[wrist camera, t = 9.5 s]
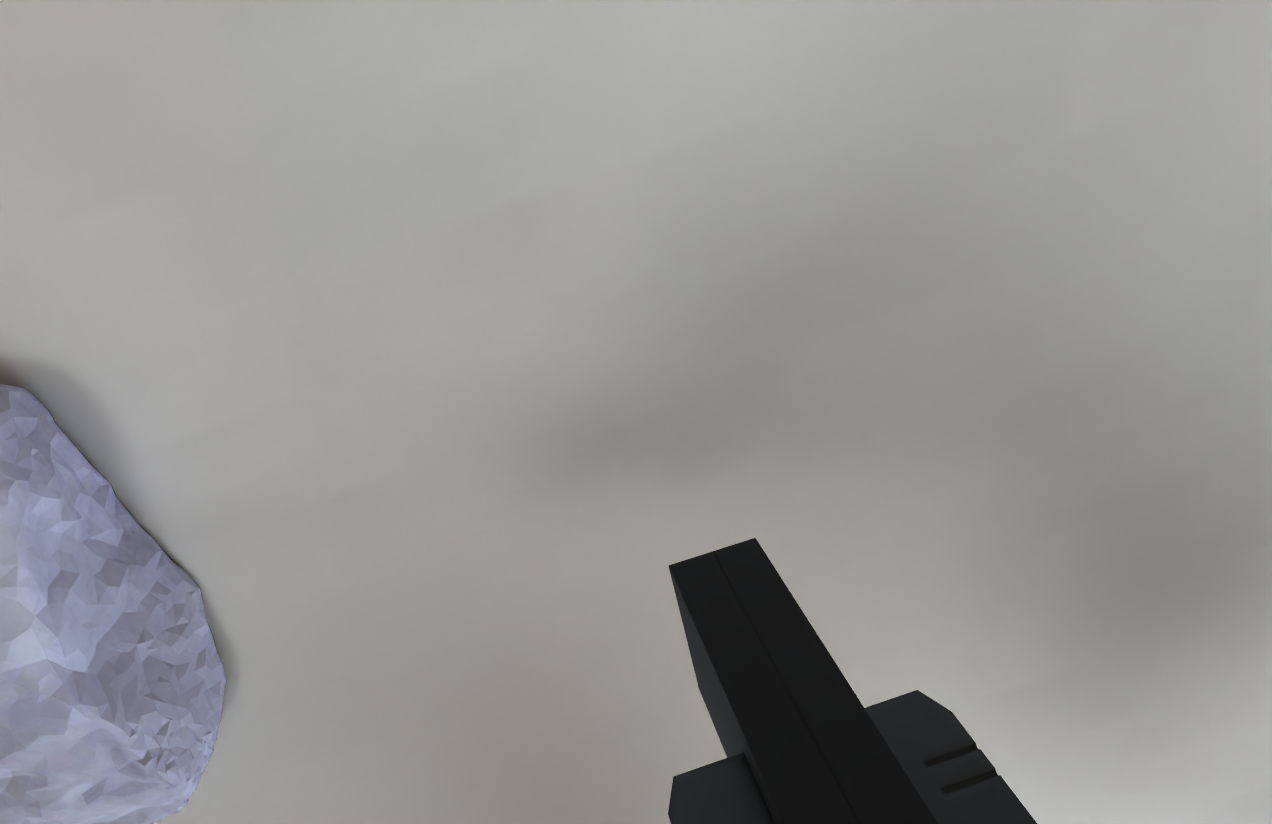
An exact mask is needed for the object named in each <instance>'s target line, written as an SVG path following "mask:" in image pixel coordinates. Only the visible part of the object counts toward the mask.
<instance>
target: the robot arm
mask: <svg viewBox="0 0 1272 824" xmlns="http://www.w3.org/2000/svg"><path fill="white" fill-rule="evenodd" d="M669 569H670V573H671V577H672V581H673V585H674V589H675V593H676V597H677V601H678V605H679V610H680V614H681V618H682V622H683V626H684V630H685V634H686V638H687V642H688V646H689V650H690V654H691V658H692V662H693V666H694V670H695V674H696V678H697V682H698V686H699V689H700V692H701V694H702V697H703V699H704V702H705V704H706V707H707V709H708V711H709V714H710V716H711V719H712V721H713V724H714V726H715V729H716V731H717V733H718V736H719V738H720V741H721V743H722V746H723V748H724V751H725V753H726V755H727V758H726V759H723V760H720V761H717V762H714V763H711V764H709V765H706V766H703V767H700V768H697V769H694V770H691V771H688V772H685V773H682V774H680V775H677V776H674V777H673V783H672V790H671V797H670V804H669V811H668V815H669V818H670V821H671V824H1037V823H1036V822H1035V820H1034V819H1033V818H1032V816H1031V815H1030V814H1029V812H1028V811H1027V810H1026V808H1025V807H1024V806H1023V805H1022V803H1021V802H1020V801H1019V799H1018V798H1017V797H1016V795H1015V794H1014V793H1013V791H1012V790H1011V789H1010V788H1009V786H1008V785H1007V784H1006V782H1005V781H1004V780H1003V778H1002V777H1001V776H998V775H997V773H996V770H995V768H994V767H993V765H992V764H991V763H990V761H989V760H988V759H987V757H986V756H985V755H984V753H983V752H982V751H981V750H980V749H978V748H977V746H976V743H975V742H974V740H973V739H972V738H971V736H970V735H969V734H968V733H967V731H966V730H965V729H964V727H963V726H962V725H961V723H960V722H959V721H958V719H957V718H956V717H955V716H954V714H953V713H952V712H951V711H949V710H948V709H946V708H945V707H943V706H942V705H940V704H939V703H937V702H935V701H934V700H932V699H931V698H929V697H928V696H926V695H924V694H923V693H921V692H920V691H918V690H916V691H913V692H910V693H907V694H904V695H901V696H898V697H896V698H893V699H890V700H887V701H884V702H881V703H878V704H875V705H872V706H870V707H867V708H864V707H863V705H862V704H861V702H860V701H859V699H858V698H857V696H856V694H855V693H854V691H853V690H852V688H851V687H850V685H849V684H848V682H847V680H846V679H845V677H844V676H843V674H842V673H841V671H840V669H839V668H838V666H837V665H836V663H835V662H834V660H833V659H832V657H831V655H830V654H829V652H828V651H827V649H826V648H825V646H824V644H823V643H822V641H821V640H820V638H819V637H818V635H817V634H816V632H815V630H814V629H813V627H812V626H811V624H810V623H809V621H808V619H807V618H806V616H805V615H804V613H803V612H802V610H801V609H800V607H799V605H798V604H797V602H796V601H795V599H794V598H793V596H792V594H791V593H790V591H789V590H788V588H787V587H786V585H785V584H784V582H783V580H782V579H781V577H780V576H779V574H778V573H777V571H776V569H775V568H774V566H773V565H772V563H771V562H770V560H769V559H768V557H767V555H766V554H765V552H764V551H763V549H762V548H761V546H760V544H759V543H758V541H757V540H756V538H754V539H750V540H747V541H744V542H741V543H738V544H735V545H732V546H728V547H725V548H722V549H719V550H716V551H713V552H710V553H707V554H703V555H700V556H697V557H694V558H691V559H688V560H685V561H682V562H678V563H675V564H672V565H669Z"/></svg>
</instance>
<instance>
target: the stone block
mask: <svg viewBox="0 0 1272 824" xmlns="http://www.w3.org/2000/svg"><path fill="white" fill-rule="evenodd" d="M225 683H226V678H225V673H224V669H223V664H222V661H221V659H220V657H219V655H218V653H217V651H216V647H215V643H214V640H213V636H212V634H211V631H210V629H209V626H208V623H207V618H206V612H205V608H204V604H203V600H202V596H201V592H200V588H199V587H198V586H197V585H196V584H195V582H194V581H193V580H192V579H191V578H190V577H189V576H188V575H187V573H186V572H185V571H184V570H182V569H181V568H180V567H179V566H178V565H176V564H175V563H174V562H173V561H172V560H170V559H169V557H168V556H167V555H166V554H165V552H164V551H163V550H162V549H161V548H160V546H159V545H158V544H157V543H156V542H155V541H154V539H153V538H152V537H151V536H150V535H149V534H148V533H146V532H145V531H144V530H143V529H142V528H141V527H140V526H139V524H138V523H137V522H136V521H135V520H134V518H133V517H132V516H131V515H130V514H129V512H128V511H127V510H126V509H125V507H124V506H123V505H122V504H121V502H120V501H119V500H118V499H117V497H116V496H115V495H114V492H113V489H112V487H111V484H110V483H109V482H108V481H107V480H106V479H105V478H104V477H103V476H102V475H101V474H100V473H99V472H98V471H96V470H95V469H94V468H93V467H92V466H91V465H90V464H89V463H88V461H87V460H86V459H85V458H84V457H83V455H82V454H81V453H80V452H79V451H78V449H77V448H76V447H75V446H74V445H73V443H72V442H71V441H70V440H69V439H68V437H67V436H66V435H65V434H64V433H63V432H62V431H61V430H60V428H59V427H58V426H57V425H56V424H55V422H54V420H53V418H52V417H51V415H50V413H49V411H48V410H47V409H46V408H45V407H44V406H43V405H42V404H41V403H40V402H39V401H38V399H37V398H36V397H35V396H34V395H32V394H31V393H30V392H29V391H27V390H26V389H25V388H20V387H15V386H9V385H0V824H152V823H154V822H157V821H159V820H161V819H163V818H165V817H166V816H168V815H171V814H173V813H176V812H178V811H180V810H181V809H182V808H183V807H184V806H185V805H187V801H188V798H189V796H190V795H191V794H192V793H193V792H194V791H195V790H196V788H197V785H198V782H199V779H200V777H201V775H202V773H203V771H204V769H205V767H206V765H207V763H208V761H209V759H210V757H211V755H212V753H213V750H214V743H215V741H216V739H217V732H218V727H219V724H220V720H221V713H222V704H223V693H224V686H225Z"/></svg>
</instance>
